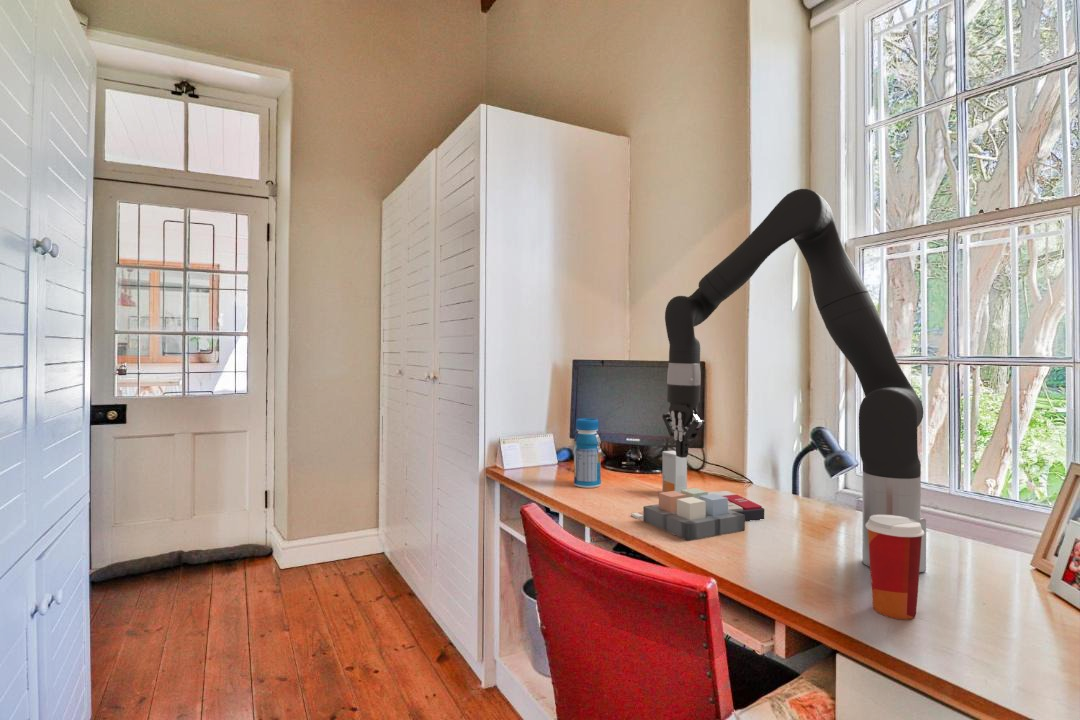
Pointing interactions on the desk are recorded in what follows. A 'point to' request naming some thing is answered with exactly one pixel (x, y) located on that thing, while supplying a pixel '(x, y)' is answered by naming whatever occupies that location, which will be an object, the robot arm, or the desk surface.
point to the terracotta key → (669, 500)
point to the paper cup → (894, 564)
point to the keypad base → (694, 523)
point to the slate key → (715, 504)
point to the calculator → (742, 505)
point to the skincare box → (673, 472)
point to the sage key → (694, 492)
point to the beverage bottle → (587, 454)
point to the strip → (637, 515)
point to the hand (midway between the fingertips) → (681, 456)
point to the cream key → (691, 508)
